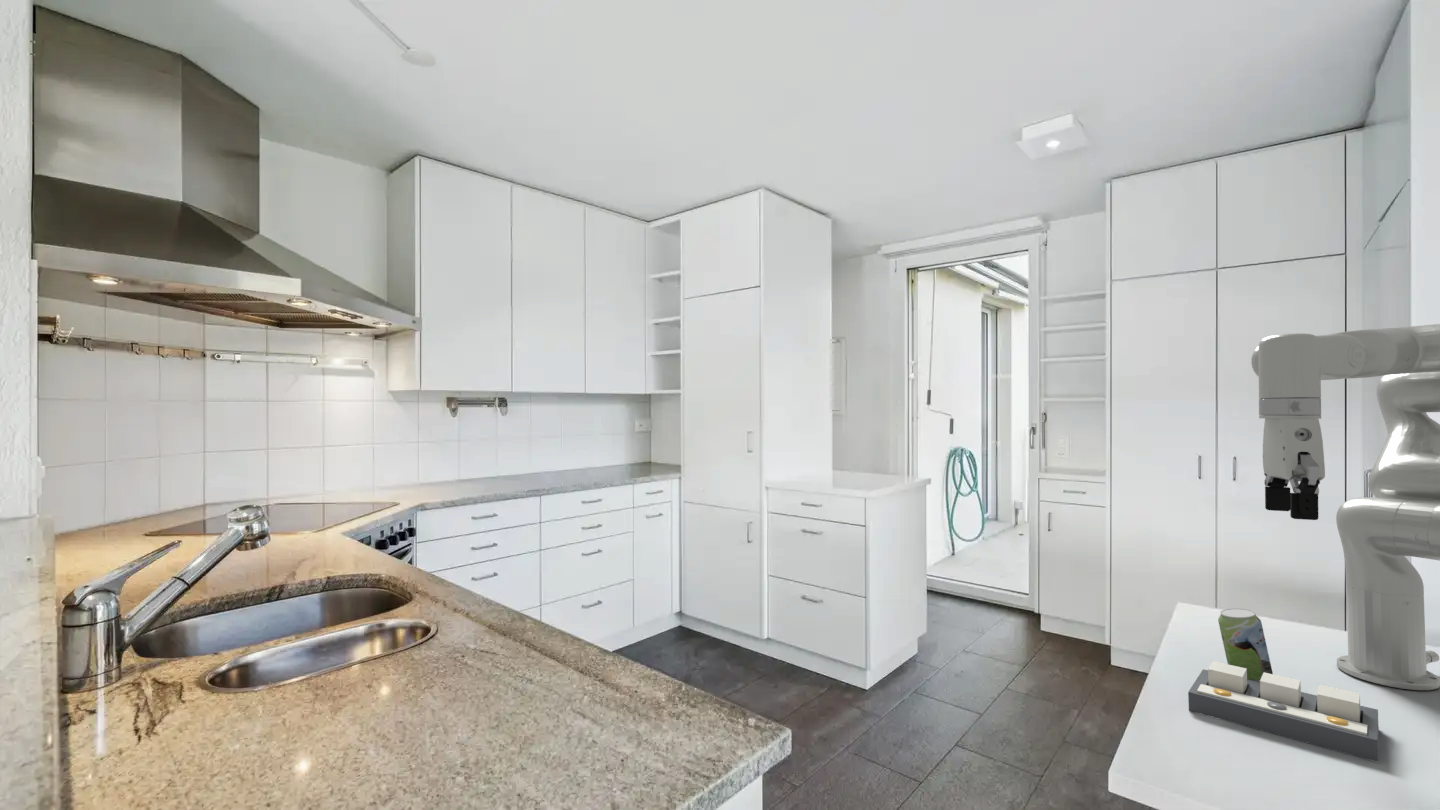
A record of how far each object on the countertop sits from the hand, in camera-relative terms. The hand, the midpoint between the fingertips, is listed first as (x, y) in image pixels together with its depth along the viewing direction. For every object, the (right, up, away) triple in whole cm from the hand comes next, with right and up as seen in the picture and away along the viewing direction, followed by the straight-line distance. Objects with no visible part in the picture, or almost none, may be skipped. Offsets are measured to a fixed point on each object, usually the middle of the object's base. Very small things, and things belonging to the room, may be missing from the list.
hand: (1290, 514), depth 101 cm
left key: (-9, -29, +1) cm, 30 cm away
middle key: (-5, -29, -4) cm, 29 cm away
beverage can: (+1, -31, +10) cm, 33 cm away
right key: (0, -28, -8) cm, 30 cm away
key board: (-6, -31, -5) cm, 32 cm away
